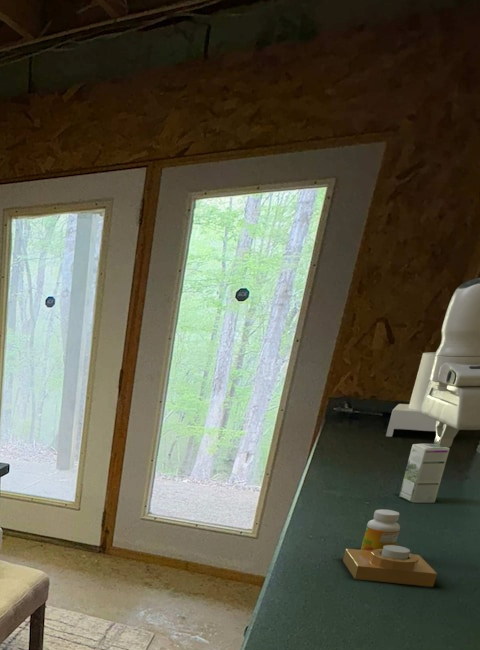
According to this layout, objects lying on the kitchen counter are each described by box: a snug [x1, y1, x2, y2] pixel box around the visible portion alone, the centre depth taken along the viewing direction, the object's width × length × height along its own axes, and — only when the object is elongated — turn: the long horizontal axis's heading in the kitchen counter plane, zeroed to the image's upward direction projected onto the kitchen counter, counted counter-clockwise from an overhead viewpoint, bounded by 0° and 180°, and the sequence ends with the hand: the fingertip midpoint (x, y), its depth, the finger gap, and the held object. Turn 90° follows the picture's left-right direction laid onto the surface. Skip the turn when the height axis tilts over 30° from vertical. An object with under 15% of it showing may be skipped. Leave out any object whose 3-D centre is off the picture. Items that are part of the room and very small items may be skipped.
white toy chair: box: [385, 351, 437, 438], centre depth 235 cm, size 19×19×30 cm
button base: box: [342, 548, 438, 588], centre depth 120 cm, size 12×10×5 cm
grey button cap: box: [381, 545, 411, 560], centre depth 118 cm, size 4×4×2 cm
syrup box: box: [398, 443, 450, 504], centre depth 162 cm, size 6×6×14 cm
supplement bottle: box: [360, 508, 401, 551], centre depth 129 cm, size 5×5×10 cm
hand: (442, 445), depth 120 cm, fingers closed
